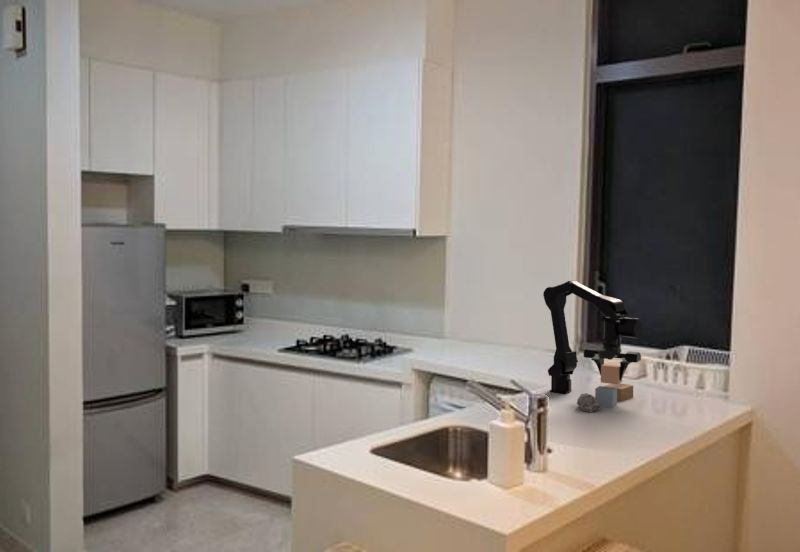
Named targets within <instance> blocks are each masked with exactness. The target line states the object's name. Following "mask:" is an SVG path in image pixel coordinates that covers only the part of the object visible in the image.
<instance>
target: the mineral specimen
mask: <svg viewBox="0 0 800 552" xmlns="http://www.w3.org/2000/svg"><path fill="white" fill-rule="evenodd" d="M576 405H577V406H580V409H579V410H581V411H582V412H585V413H592V412H595V411H596V412H599V411H600V409H601V408H602V406H601V405H600V404H598V402H597V401H596V399H595V396H594V395H592V394H589V393H581V394H580V396H578V398H577V402H576Z"/></svg>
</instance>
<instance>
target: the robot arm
mask: <svg viewBox="0 0 800 552" xmlns="http://www.w3.org/2000/svg"><path fill="white" fill-rule="evenodd" d="M572 294H573V295H575V296H576V297H579V298H580V299H583V300H584V301H585V302H588V303H590V304H591V305H593V306H594V307H596V308H597V310H598V311H599V312H600V313H601V314H602V316H601V317H600V318H599V319H598V322H601V323H603V338H602V342H601V345H600V346H599V348H595V347H588V348H585V350H583V358H587V359H590V361H592V362H594V363H595V364H596V366H597V369H598V372H599V374H600V376H601V365H603V364H605V359H606V360H613V359H621V361H620V362H619V365H621V367H620V376H619V378H620V381H621V380H622V381H623V378H624V375H625V372H626V371H627V368H629V367H628V366H629V365H630V364H631V363H639V362H640V361H641V360H642V355H641V353H640V352H637V351H627V352H626V353H625V352H624V353H623V352H622V349H621V346H622V345H621V344H622V340H623V339H622V338H630V339H631V338H632V339H641V338H642V336H643V333H644V327H643V324H642V323H641V319H640V318H639V317H638V318H636V317H633V318H632V317H631V316H630V314H629V313H628V311H627V309H626V308H625V304H624V301H622V300H621V299H618V298H615V297H611V296H607V295H603V294H601V293H599V292H597V291H596V290H593V289H591V288H589V287H587V286H585V285H583V284H582V283H580V282H578V281H577V280H567V281H566V282H563V283H561V284H557V285H556V286H548V287H546V288H545V289H544V291H543V294H542V296H543V299H544V302H545V306H546V307H547V308H548V309H549V311H550V315H551V316H550V317H551V322H552V329H553V336H554V344H555V352H554V355H553V364H552V365H551V366H550V367H549V368H547V369H548V370H547V375H548V376H549V377H550V379H551V380H550V387H551V389H549V392H550V393H558V394H567V393H570V392H572V390H573V389H572V379H571V376H572V375H573V374H574V371H575V370H576V369H577V366H578V363H579V361H578V358H577V355H578V353H577V351H575V350H574V351H573V350H572V348H571V346H570V342H569V336H568V334H569V333H568V329H567V322H566V314H565V306H566V304H567V297H568V296H571V295H572Z"/></svg>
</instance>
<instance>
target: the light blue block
mask: <svg viewBox="0 0 800 552" xmlns="http://www.w3.org/2000/svg"><path fill="white" fill-rule="evenodd" d="M604 386H605V385H603V386H602V385H599V386H598V387H596V388H595V389H594V390H595V392H594V393H595V395H594V397H595V399H596V401H597V402H598V404H600V405H601V408H609V407H610V409H613V408H614V407H616V406H617V405H618V401H617V388H613V387H604Z"/></svg>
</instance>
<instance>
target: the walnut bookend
mask: <svg viewBox="0 0 800 552" xmlns="http://www.w3.org/2000/svg"><path fill="white" fill-rule="evenodd" d="M603 386H604V387H613V388H617V402H622V401H626V400H628V399H632V398H634V385H633V384H626V383H622V382H621V383H619V384H610V383H609V384H606V385H603Z"/></svg>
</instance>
